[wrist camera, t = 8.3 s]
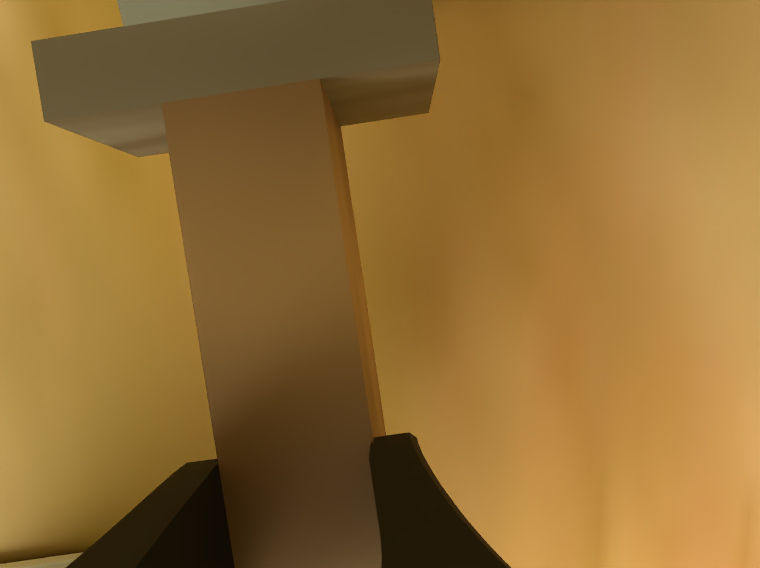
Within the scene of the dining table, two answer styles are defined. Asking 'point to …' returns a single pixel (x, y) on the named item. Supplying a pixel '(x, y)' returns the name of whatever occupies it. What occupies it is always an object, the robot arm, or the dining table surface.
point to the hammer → (266, 236)
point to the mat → (176, 8)
